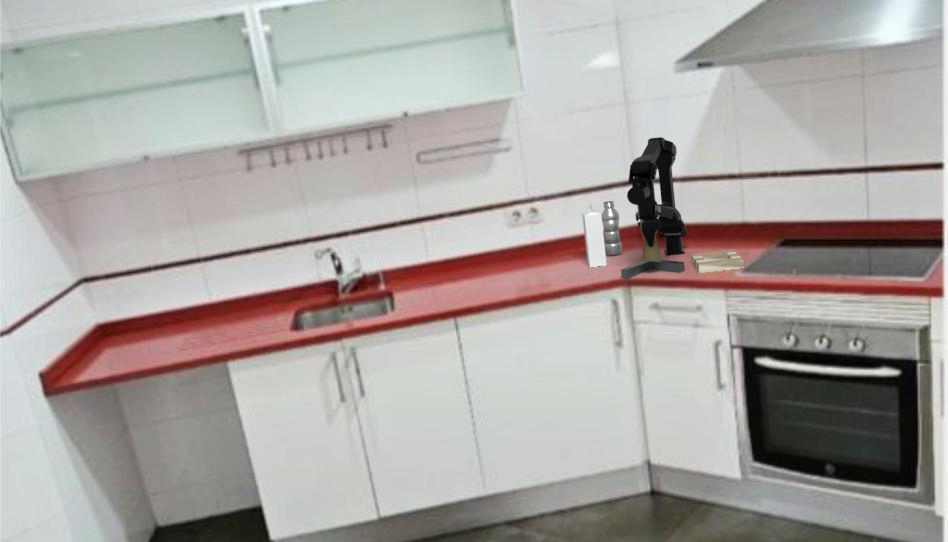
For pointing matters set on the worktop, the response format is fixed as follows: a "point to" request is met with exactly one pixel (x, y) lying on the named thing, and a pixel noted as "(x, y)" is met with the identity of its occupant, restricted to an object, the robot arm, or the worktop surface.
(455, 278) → the worktop surface
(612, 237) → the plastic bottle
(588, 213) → the milk
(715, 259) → the cream wooden slatted block
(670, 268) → the v-block
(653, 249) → the cork
